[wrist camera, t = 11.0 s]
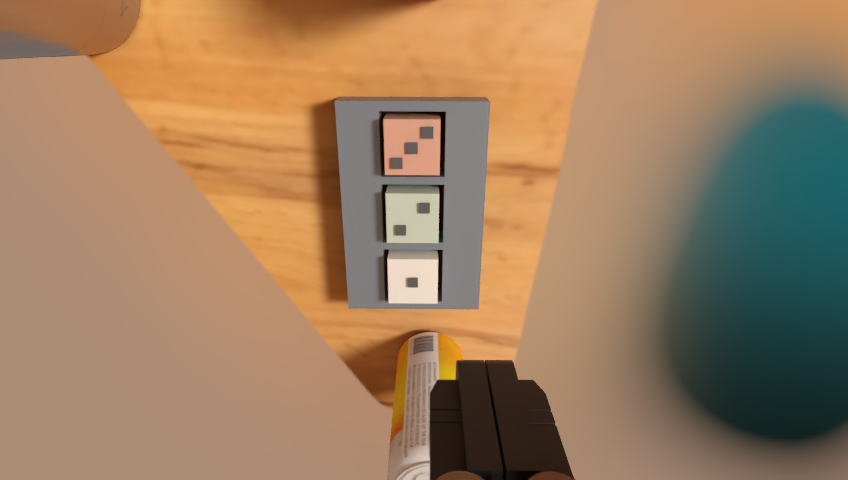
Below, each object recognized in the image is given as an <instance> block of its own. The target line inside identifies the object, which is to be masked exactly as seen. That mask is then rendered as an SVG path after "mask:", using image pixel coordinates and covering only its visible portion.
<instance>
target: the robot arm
mask: <svg viewBox="0 0 848 480" xmlns="http://www.w3.org/2000/svg"><path fill="white" fill-rule="evenodd" d="M140 1H141V0H0V59H14V58H33V57H56V56H76V55H95V54H100V53H105V52H109V51H111V50H113V49H115V48H117V47H119V46H120V45H121V44H122V43H123V42H124V41H125V40H126V39H128V38H129V36H130V34H131V33H132V31H133V30H134V28H135V26H136V23H137V20H138V17H139V13H140ZM429 447H430V480H575V479H574V477H573V475H572V472H571V469H570V466H569V463H568V460H567V457H566V454H565V451H564V448H563V445H562V442H561V439H560V436H559V433H558V430H557V427H556V426H555V421H554V418H553V415H552V412H551V409H550V406H549V403H548V400H547V397H546V394H545V393H544V391H543V390H542V389H540V387H539V386H538V385H537V384H536V383H535V382H534V381H533V380H518V378H517V374H516V371H515V367H514V363H513V361H512V360H485V362H484V361H483V360H457V361H456V378H455V380H437V382H436V383H435V385H434V387H433V389H432V390H431V392H430V430H429Z"/></svg>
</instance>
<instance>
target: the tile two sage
mask: <svg viewBox="0 0 848 480" xmlns="http://www.w3.org/2000/svg"><path fill="white" fill-rule="evenodd" d="M385 195H386V230H387V243H439V185H401V184H388V186H387V189H386V193H385Z"/></svg>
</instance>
